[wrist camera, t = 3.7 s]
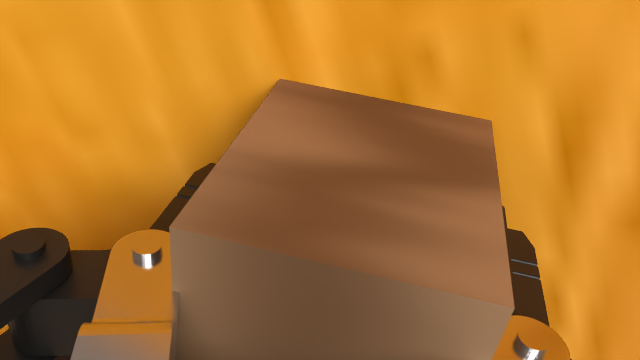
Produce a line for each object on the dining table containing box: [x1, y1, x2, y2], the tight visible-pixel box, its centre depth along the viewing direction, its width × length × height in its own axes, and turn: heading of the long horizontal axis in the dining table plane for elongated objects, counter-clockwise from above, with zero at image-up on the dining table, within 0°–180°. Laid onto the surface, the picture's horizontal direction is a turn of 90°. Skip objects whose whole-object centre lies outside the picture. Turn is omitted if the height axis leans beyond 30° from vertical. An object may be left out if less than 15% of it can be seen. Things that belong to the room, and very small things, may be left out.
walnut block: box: [169, 79, 515, 360], centre depth 12 cm, size 5×5×6 cm
